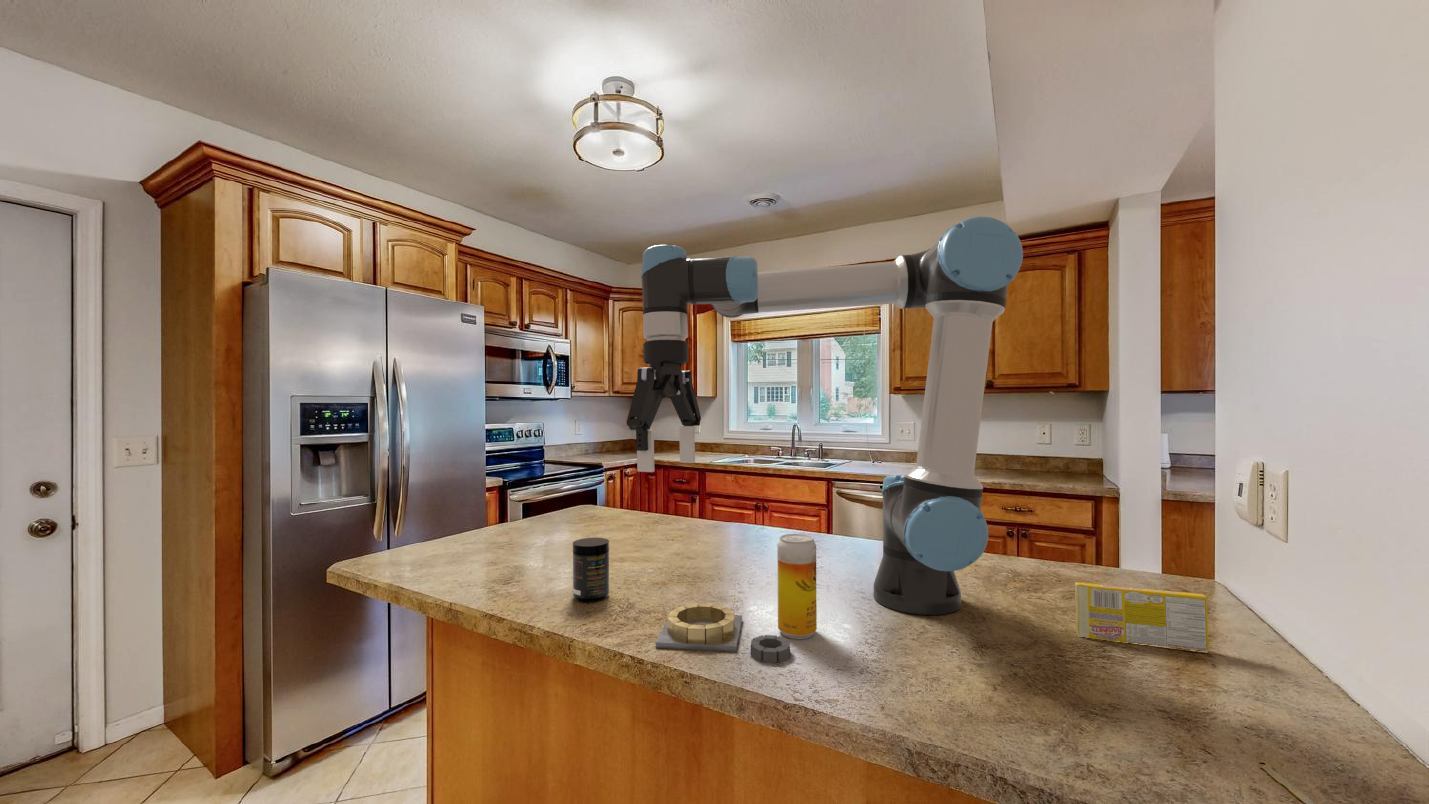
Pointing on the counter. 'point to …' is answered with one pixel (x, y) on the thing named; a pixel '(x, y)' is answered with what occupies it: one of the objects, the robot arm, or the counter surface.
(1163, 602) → the candy box
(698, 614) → the collar block
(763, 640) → the ring
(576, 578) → the supplement container
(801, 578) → the beer can
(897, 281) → the robot arm
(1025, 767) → the counter surface
